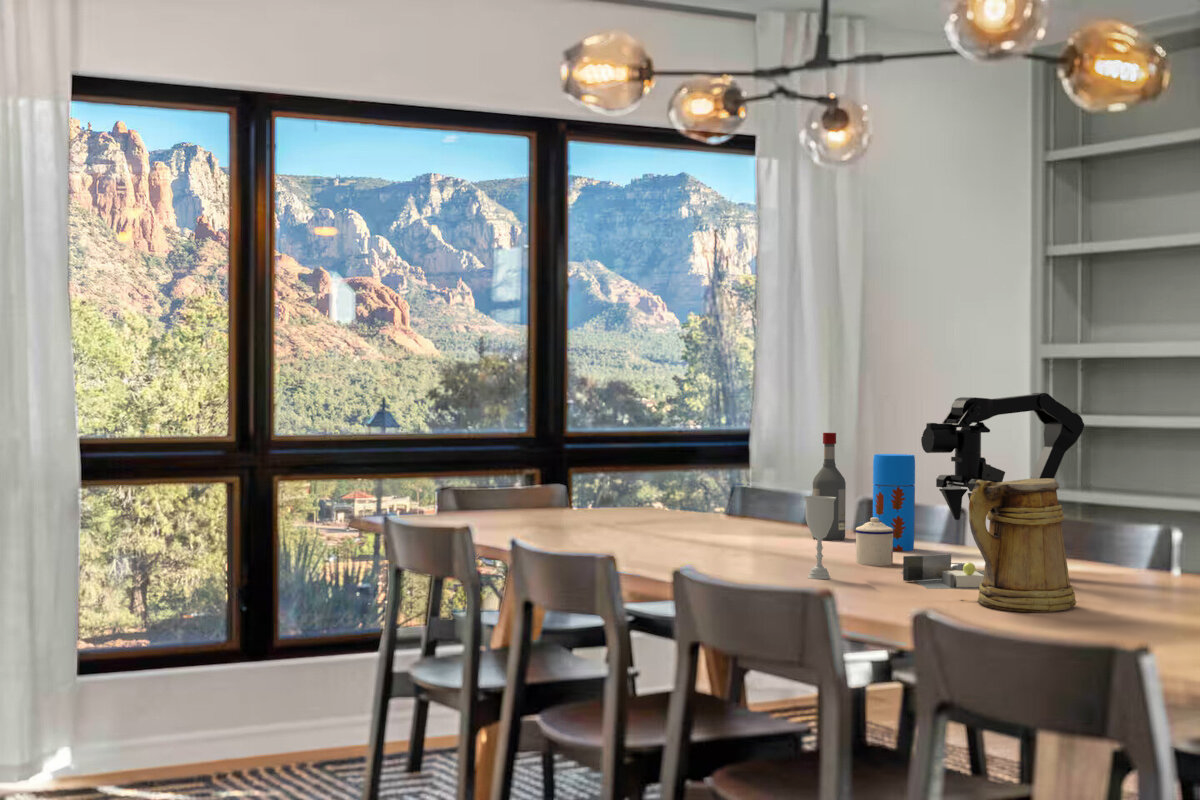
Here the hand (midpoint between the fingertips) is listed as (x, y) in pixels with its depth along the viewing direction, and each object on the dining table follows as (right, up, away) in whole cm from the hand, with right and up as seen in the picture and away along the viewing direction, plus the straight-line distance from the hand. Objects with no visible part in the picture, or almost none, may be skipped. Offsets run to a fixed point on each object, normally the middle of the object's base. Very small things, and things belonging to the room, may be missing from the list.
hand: (967, 521), depth 318 cm
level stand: (-4, -13, -12) cm, 18 cm away
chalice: (-34, -13, -3) cm, 36 cm away
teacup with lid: (-18, -12, +19) cm, 29 cm away
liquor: (-18, -12, +80) cm, 83 cm away
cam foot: (-5, -12, -19) cm, 23 cm away
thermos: (-5, -12, +55) cm, 57 cm away
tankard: (-2, -13, -44) cm, 46 cm away
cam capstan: (-8, -12, -13) cm, 19 cm away
